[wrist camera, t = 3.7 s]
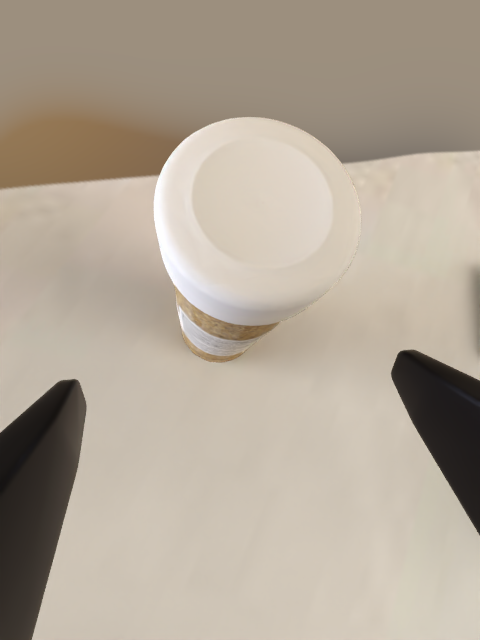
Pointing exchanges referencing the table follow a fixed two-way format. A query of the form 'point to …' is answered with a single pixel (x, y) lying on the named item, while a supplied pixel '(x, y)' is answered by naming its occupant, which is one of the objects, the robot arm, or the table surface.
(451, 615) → the table surface
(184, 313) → the sprinkles bottle
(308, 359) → the table surface
